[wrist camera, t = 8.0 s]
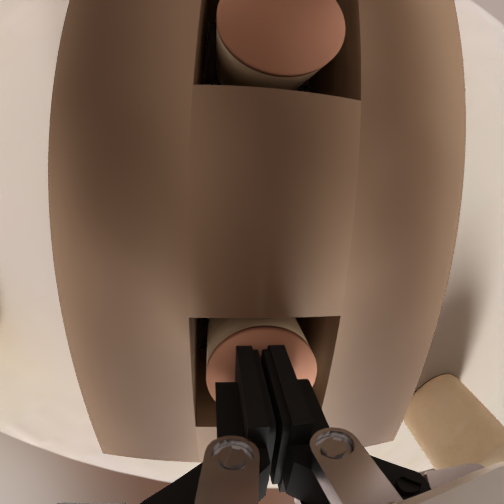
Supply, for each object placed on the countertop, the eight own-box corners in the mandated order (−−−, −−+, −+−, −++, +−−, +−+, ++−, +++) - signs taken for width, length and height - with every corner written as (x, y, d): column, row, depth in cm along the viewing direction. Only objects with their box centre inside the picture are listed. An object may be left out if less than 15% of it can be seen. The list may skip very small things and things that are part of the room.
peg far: (289, 273, 16) (324, 329, 11) (282, 343, 17) (308, 413, 12) (208, 272, 16) (204, 330, 10) (208, 343, 17) (207, 418, 11)
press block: (386, 12, 13) (447, -30, 7) (354, 375, 19) (393, 440, 13) (128, -12, 11) (95, -74, 6) (126, 379, 17) (103, 453, 11)
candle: (442, 362, 20) (522, 446, 10) (465, 387, 21) (531, 458, 11) (390, 414, 20) (450, 511, 11) (419, 432, 22) (473, 511, 12)
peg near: (302, 35, 13) (343, -19, 7) (300, 109, 14) (346, 83, 9) (219, 27, 12) (221, -35, 7) (213, 103, 14) (211, 69, 8)
